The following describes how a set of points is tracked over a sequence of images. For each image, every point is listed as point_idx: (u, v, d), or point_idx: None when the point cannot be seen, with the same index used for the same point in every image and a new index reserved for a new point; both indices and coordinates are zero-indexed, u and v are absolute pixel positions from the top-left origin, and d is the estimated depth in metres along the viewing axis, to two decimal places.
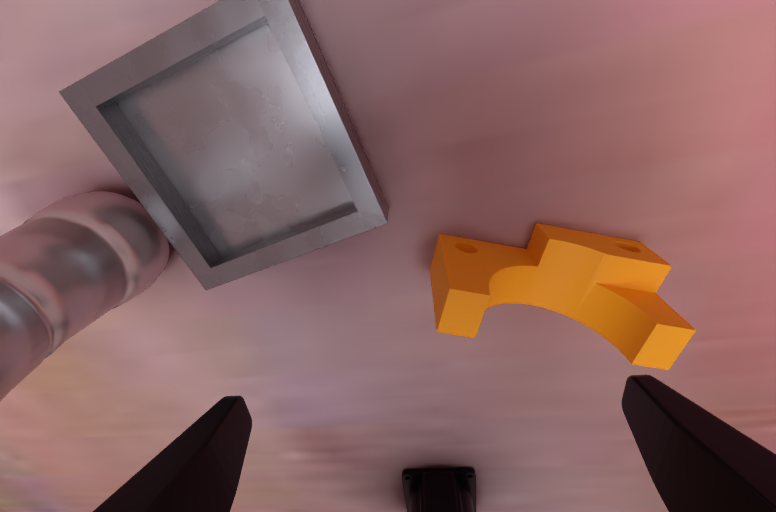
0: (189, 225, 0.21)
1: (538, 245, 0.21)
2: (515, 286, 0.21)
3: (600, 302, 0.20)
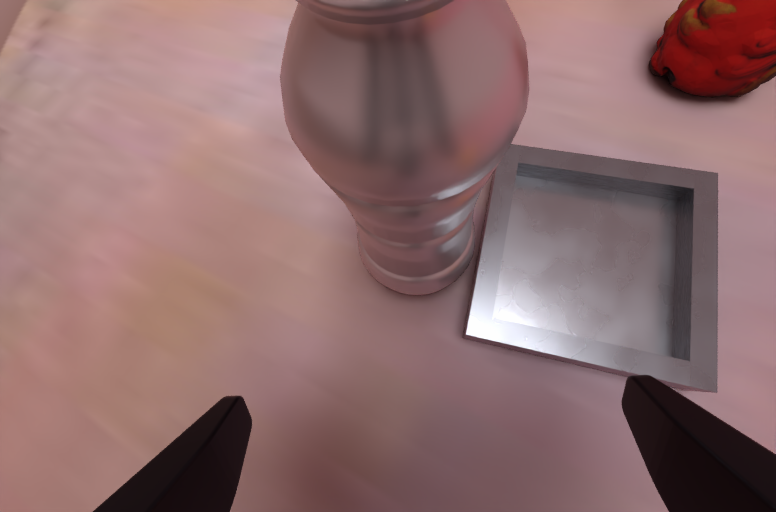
0: None
1: None
2: None
3: None
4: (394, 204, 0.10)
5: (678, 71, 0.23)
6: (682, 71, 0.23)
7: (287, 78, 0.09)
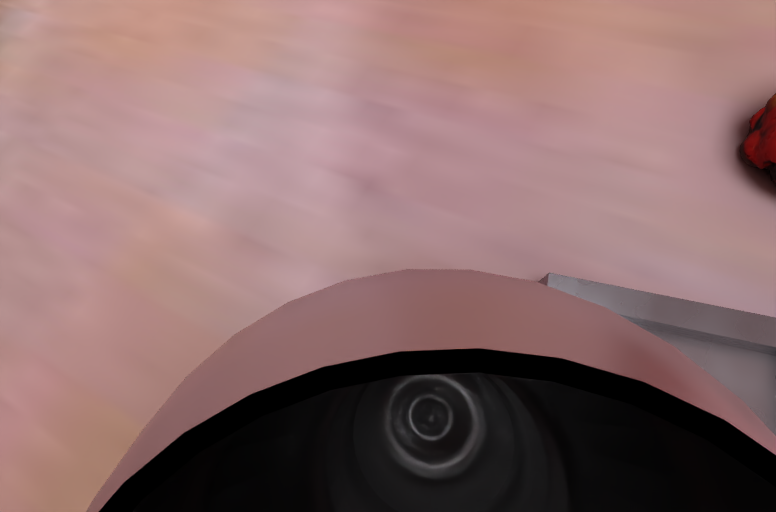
0: None
1: None
2: None
3: None
4: None
5: None
6: None
7: None
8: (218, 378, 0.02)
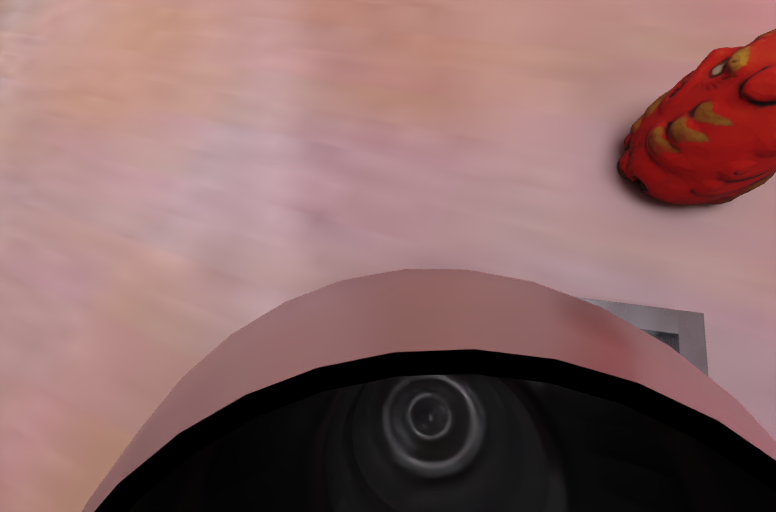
0: None
1: None
2: None
3: None
4: None
5: (650, 185, 0.21)
6: (654, 186, 0.21)
7: None
8: (214, 378, 0.02)
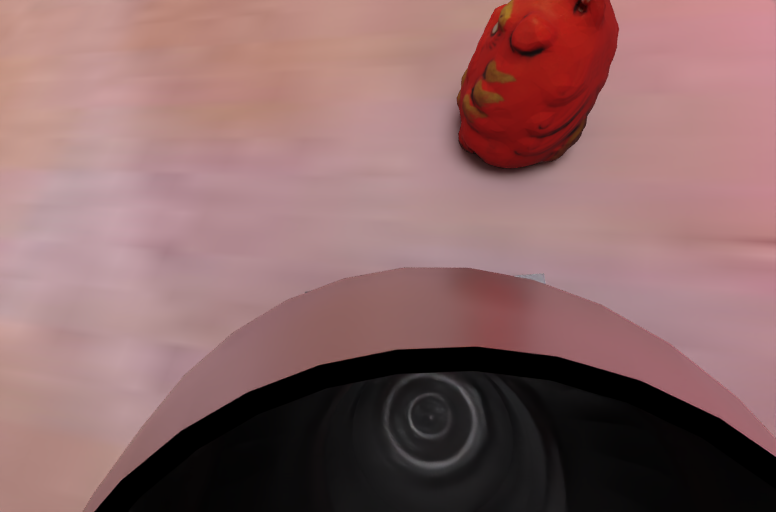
0: None
1: None
2: None
3: None
4: None
5: (481, 154, 0.21)
6: (485, 154, 0.20)
7: None
8: (217, 375, 0.02)
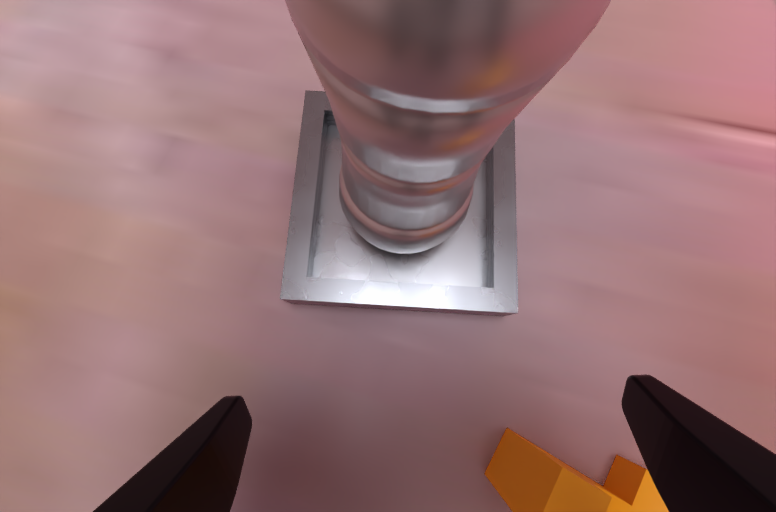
0: (313, 231, 0.20)
1: (626, 479, 0.18)
2: None
3: None
4: (407, 105, 0.07)
5: None
6: None
7: None
8: None
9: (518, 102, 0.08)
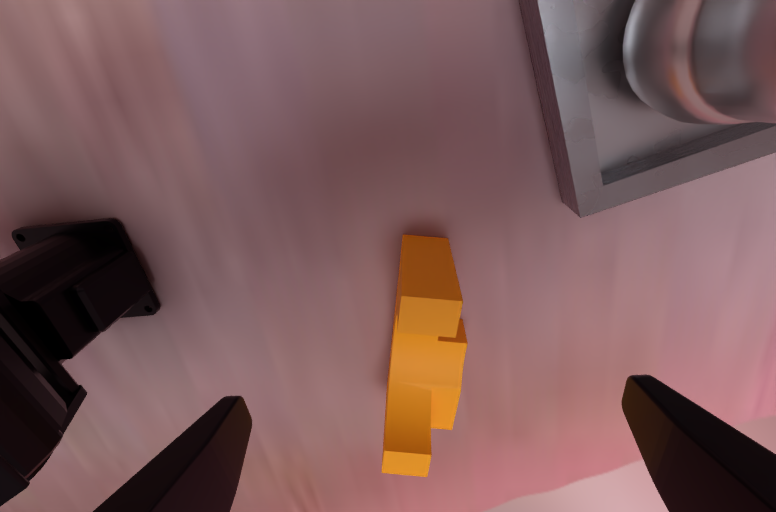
0: None
1: None
2: None
3: (416, 399, 0.22)
4: None
5: None
6: None
7: None
8: None
9: None
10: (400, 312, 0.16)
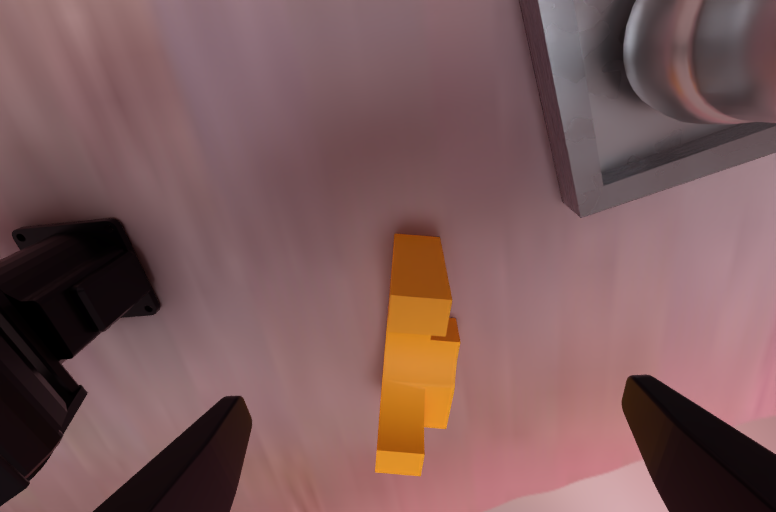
0: None
1: None
2: None
3: (409, 398, 0.22)
4: None
5: None
6: None
7: None
8: None
9: None
10: (390, 311, 0.16)
